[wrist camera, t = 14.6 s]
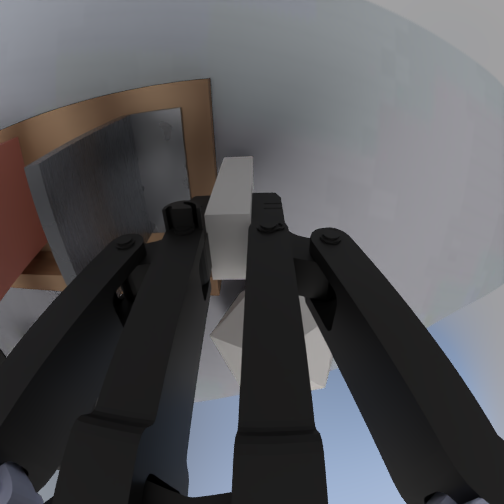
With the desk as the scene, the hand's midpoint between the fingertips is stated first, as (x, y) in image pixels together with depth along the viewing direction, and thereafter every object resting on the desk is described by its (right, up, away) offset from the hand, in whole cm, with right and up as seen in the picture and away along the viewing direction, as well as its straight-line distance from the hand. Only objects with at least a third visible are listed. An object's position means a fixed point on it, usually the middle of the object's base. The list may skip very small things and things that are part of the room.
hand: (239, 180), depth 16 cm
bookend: (-5, +1, +2) cm, 5 cm away
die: (+3, -7, +9) cm, 12 cm away
